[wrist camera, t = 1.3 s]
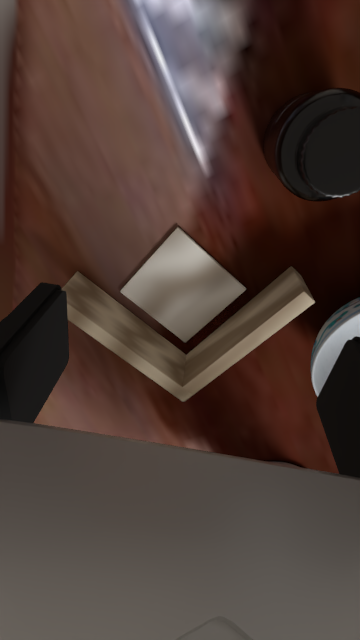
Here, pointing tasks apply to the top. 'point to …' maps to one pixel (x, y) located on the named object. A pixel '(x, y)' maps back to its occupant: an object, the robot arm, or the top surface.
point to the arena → (184, 314)
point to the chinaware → (333, 341)
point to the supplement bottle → (316, 144)
